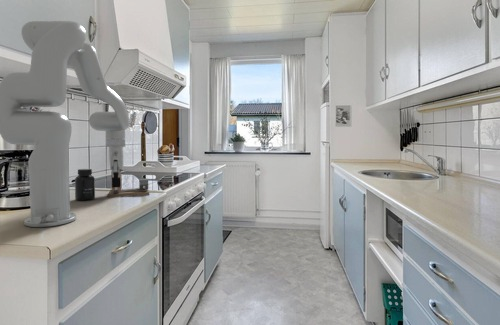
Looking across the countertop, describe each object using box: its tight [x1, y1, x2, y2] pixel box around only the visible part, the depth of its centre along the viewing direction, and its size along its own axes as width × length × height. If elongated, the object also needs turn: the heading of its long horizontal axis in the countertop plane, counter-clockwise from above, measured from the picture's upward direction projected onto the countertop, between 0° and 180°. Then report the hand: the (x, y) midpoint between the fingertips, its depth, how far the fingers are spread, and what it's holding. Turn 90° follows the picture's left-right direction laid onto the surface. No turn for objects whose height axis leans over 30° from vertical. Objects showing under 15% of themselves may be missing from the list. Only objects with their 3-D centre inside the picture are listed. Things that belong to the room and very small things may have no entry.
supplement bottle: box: [74, 168, 96, 202], centre depth 117 cm, size 7×7×12 cm
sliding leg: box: [110, 169, 122, 190], centre depth 126 cm, size 6×4×8 cm, turn 22°
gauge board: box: [107, 178, 150, 198], centre depth 129 cm, size 9×16×6 cm, turn 112°
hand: (116, 185), depth 127 cm, fingers closed on sliding leg, 3 cm apart
